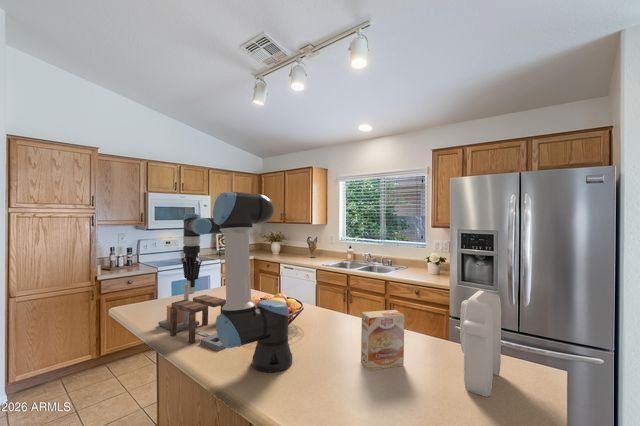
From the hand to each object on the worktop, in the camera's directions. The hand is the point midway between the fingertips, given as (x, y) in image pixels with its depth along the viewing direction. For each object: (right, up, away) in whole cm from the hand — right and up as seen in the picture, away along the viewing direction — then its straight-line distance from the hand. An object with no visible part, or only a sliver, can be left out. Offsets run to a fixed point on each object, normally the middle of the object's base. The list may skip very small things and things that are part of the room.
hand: (190, 293), depth 149 cm
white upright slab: (+117, -19, -42) cm, 126 cm away
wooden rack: (-1, -18, +1) cm, 18 cm away
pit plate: (+20, -18, -13) cm, 30 cm away
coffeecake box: (+86, -19, -32) cm, 94 cm away
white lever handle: (-8, -18, +5) cm, 20 cm away
